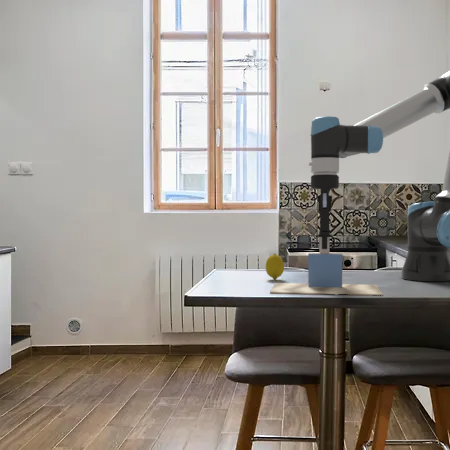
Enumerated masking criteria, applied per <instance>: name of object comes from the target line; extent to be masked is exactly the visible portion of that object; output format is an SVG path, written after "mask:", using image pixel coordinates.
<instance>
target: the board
mask: <svg viewBox="0 0 450 450" xmlns="http://www.w3.org/2000/svg"><path fill="white" fill-rule="evenodd" d="M269 294H270V295H271V294H276V295H278V294H279V295H280V294H282V295H320V294H335V295H336V296H339V295H338V294H348V295H347V296H372V295H377V296H378V295H379V296H380V295H381V297H382V296H384V294H383V292H382V291H381V290H380V289H379V287H378V286H377V284H359V283H358V284H353V283H352V284H351V283H350V284H349V283H348V284H347V283H342V287H308V283H301V282H300V283H299V282H298V283H297V282H294V283H293V282H292V283H289V282H288V283H287V282H275V283H274V285H273V286H272V288H271V290H270V292H269ZM349 294H350V295H349ZM335 295H334V296H335ZM377 296H376V297H377ZM379 296H378V297H379Z"/></svg>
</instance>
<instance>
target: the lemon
mask: <svg viewBox="0 0 450 450" xmlns="http://www.w3.org/2000/svg"><path fill="white" fill-rule="evenodd" d="M284 270H285V263H284V260H283V258H282V257H281V256H280V255H278V254H277V253H273V254H271V255H270V256H269V257H267V260H266V262H265V272H266V274H267V276H269V277H270V278H272V280H277V279H278V278H279V277H282V275H283V273H284Z"/></svg>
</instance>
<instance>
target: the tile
mask: <svg viewBox="0 0 450 450" xmlns="http://www.w3.org/2000/svg"><path fill="white" fill-rule="evenodd" d="M307 257H308V259H307V261H308V263H307V265H308V266H307V268H308V271H307V274H308V276H307V277H308V283H307V284H308V287H342V284H343V253H339V252H337V253H334V252H332V253H319V252H317V253H315V252H313V253H312V252H308V256H307Z"/></svg>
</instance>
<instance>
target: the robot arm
mask: <svg viewBox="0 0 450 450" xmlns="http://www.w3.org/2000/svg"><path fill="white" fill-rule="evenodd" d="M447 110H450V69H449V70H447V71H446V72H444V73H443V74H441V75H440V76H439V77H437V78H435V79H433V80H432V81H430V82H428V83H426V84H424V86H423V88H422V90H420V91H418V92H416V93H414V94H412V95H410V96H408V97H406V98H404V99H403V100H400V101H398V102H395V104H392V105H391V106H389V107H386V108H385V109H383V110H381V111H379V112H376V113H374V114H373V115H371V116H369V117H368V118H365V119H363V120H361V121H359V122H357V123H356V124H354V125H346V124H340V119H339V117H337V116H329V115H326V116H324V115H323V116H318V117H315V118H313V119H312V120H311V126H310V127H311V130H310V146H311V147H310V151H311V152H310V154H311V157H310V158H311V160H310V161H311V162H309V163H308V166H310V169H311V170H310V173H312V174H313V175H311V176H310V188H311V190H312V189H313V190H320V195H317V200H316V201H317V205H318V206H317V209H318V212H319V232H318V233H319V234H317V235H316V238H319V245H318V246H319V248H318V249H319V252H318V253H330V238H331V237H333V234H330V233H331V231H330V212H331V211H332V202H333V195H330V190H337V189H339V187H340V186H339V185H340V177H339V175H338V174H339V173H340V159H346V158H347V157H351V156H356V155H361V154H367V155H369V154H377V153H379V152H380V151H381V149H382V148H383V144H384V138H386V137H388V136H390V135H392V134H394V133H396V132H398V131H400V130H402V129H404V128H406V127H409V126H411V125H412V124H414V123H416V122H418V121H420V120H422V119H423V118H424V119H425V118H426V117H427V116H430V115H432V114H434V113H435V114H441V113H443V112H445V111H447ZM443 179H444V180H443V185H442V189H441V192H440V193H438V194H437V195H436V196H435V198H434V201H424V202H423V201H421V202H417V203H412V204H410V205H409V207H408V209H407V218H406V219H407V255H406V257H405V260H404V263H403V266H402V269H401V279H403V280H409V281H418V282H449V281H450V257H449V256H450V255H449V249H450V151H449V153H448V159H447V164H446V170H445V174H444V178H443Z"/></svg>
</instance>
